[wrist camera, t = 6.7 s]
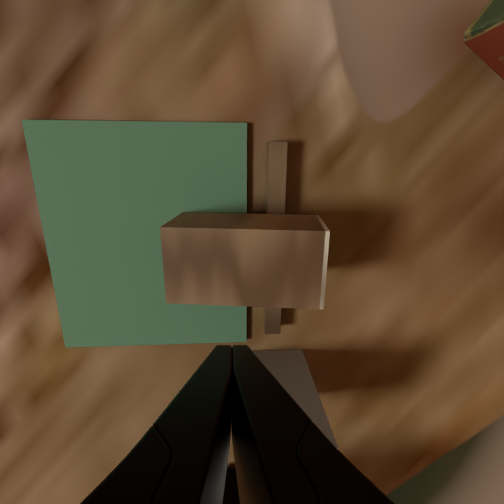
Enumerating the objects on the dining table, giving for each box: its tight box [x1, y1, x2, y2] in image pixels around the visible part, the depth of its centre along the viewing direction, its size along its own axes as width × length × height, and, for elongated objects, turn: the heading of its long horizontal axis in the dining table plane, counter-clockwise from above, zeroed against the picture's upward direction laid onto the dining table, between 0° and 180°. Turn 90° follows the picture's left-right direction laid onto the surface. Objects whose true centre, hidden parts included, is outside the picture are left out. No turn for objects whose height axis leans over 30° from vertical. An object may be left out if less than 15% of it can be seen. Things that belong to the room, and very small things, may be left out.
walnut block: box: [160, 212, 330, 310], centre depth 18 cm, size 4×4×8 cm
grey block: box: [253, 349, 338, 449], centre depth 20 cm, size 4×4×8 cm
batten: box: [264, 142, 288, 334], centre depth 20 cm, size 12×1×1 cm, turn 0°
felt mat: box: [22, 120, 247, 347], centre depth 20 cm, size 14×12×1 cm
